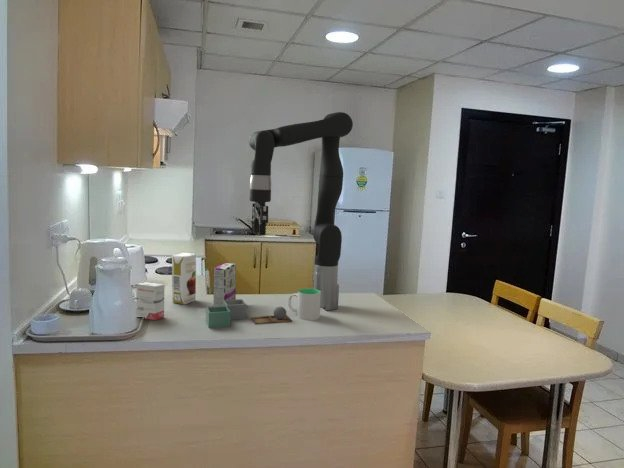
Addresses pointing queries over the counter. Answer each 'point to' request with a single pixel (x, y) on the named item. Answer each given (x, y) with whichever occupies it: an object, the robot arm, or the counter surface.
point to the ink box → (150, 300)
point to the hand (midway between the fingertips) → (259, 233)
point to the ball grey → (279, 313)
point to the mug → (307, 304)
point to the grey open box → (236, 308)
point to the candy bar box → (224, 283)
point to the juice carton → (183, 278)
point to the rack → (269, 319)
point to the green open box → (217, 316)
